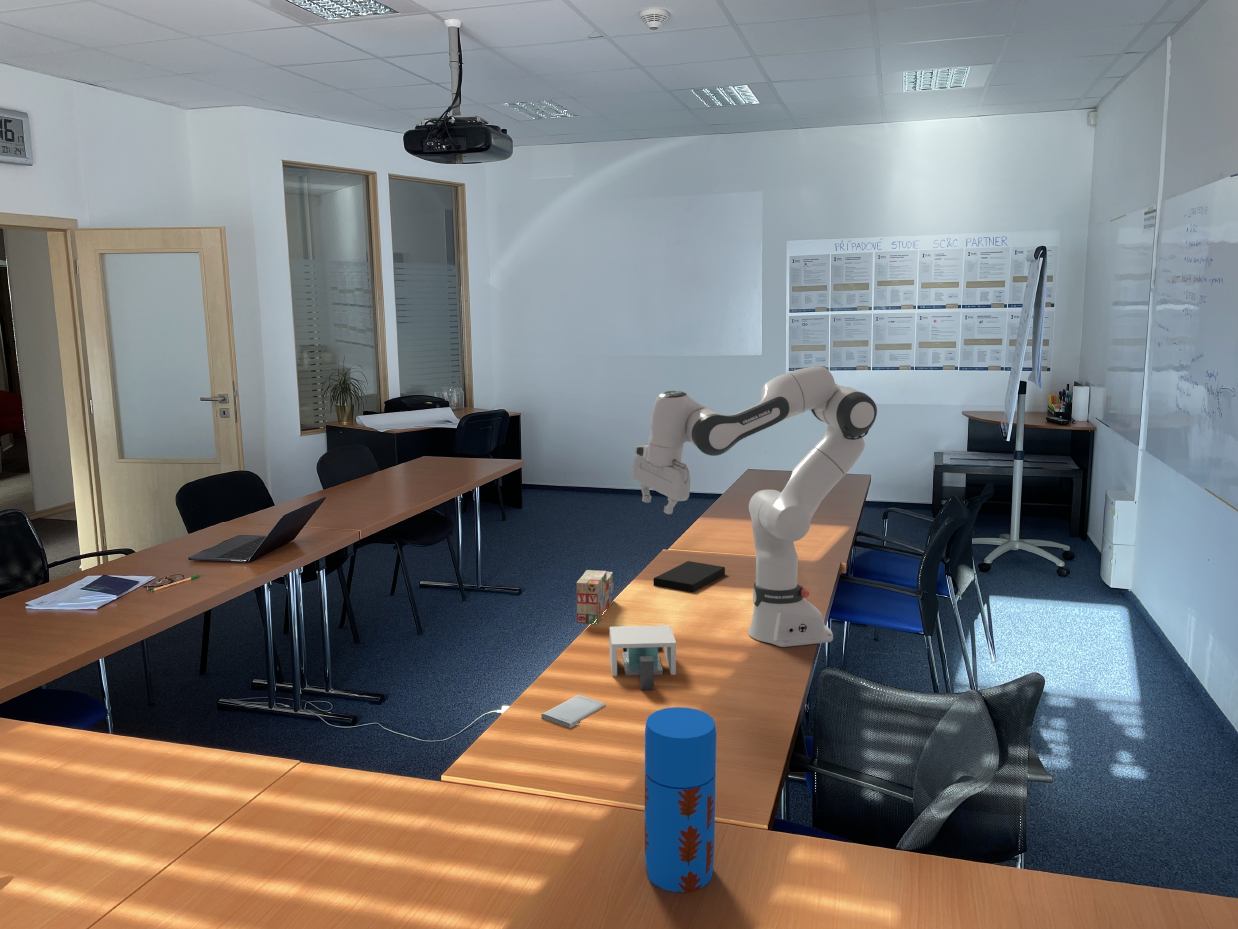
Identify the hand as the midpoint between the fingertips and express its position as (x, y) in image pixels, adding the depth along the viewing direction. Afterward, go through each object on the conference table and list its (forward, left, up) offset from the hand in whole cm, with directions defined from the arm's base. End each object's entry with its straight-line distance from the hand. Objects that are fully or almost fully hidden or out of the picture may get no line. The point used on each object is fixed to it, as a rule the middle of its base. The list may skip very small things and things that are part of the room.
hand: (656, 507), depth 225 cm
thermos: (+6, +94, -38) cm, 101 cm away
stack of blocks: (+15, -30, -38) cm, 50 cm away
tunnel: (+5, +13, -38) cm, 40 cm away
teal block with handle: (+5, +17, -37) cm, 41 cm away
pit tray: (+4, +1, -38) cm, 38 cm away
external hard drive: (-17, -59, -38) cm, 72 cm away
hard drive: (+22, +37, -38) cm, 57 cm away
